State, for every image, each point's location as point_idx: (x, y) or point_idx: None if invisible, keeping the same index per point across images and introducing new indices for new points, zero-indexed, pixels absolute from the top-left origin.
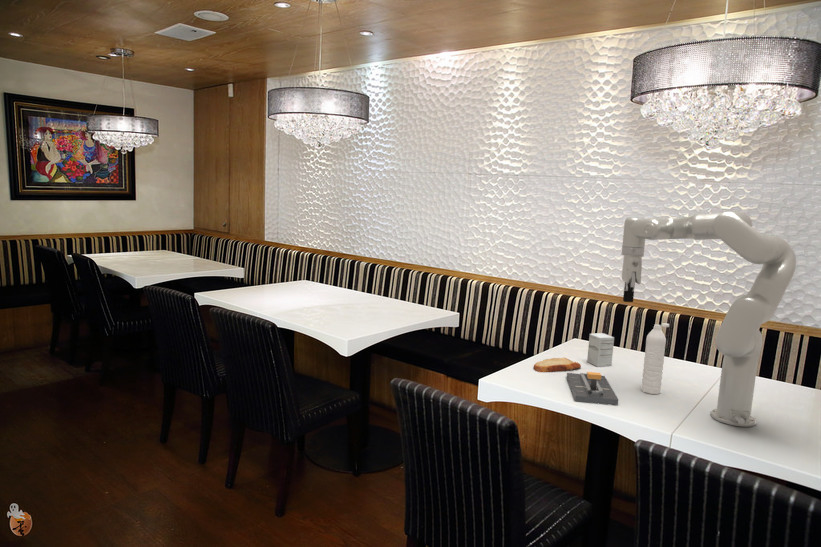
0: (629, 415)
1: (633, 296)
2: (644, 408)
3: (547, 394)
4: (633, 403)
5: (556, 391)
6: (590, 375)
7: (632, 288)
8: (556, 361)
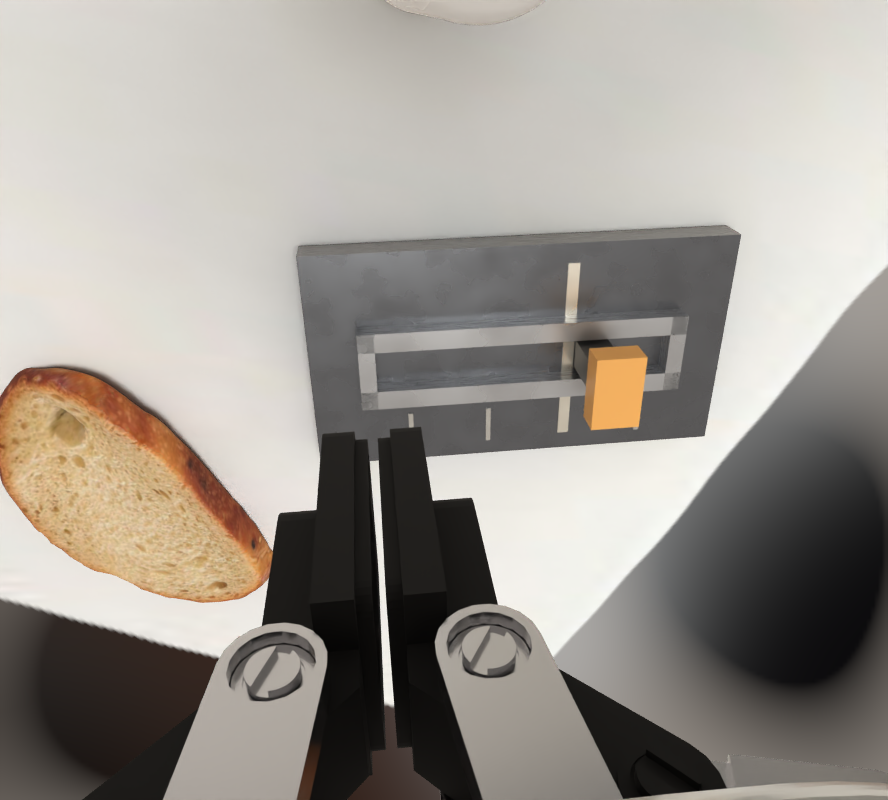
0: (862, 186)
1: (431, 497)
2: (758, 74)
3: (617, 525)
4: (683, 126)
5: (567, 492)
6: (636, 411)
7: (640, 738)
8: (89, 510)
